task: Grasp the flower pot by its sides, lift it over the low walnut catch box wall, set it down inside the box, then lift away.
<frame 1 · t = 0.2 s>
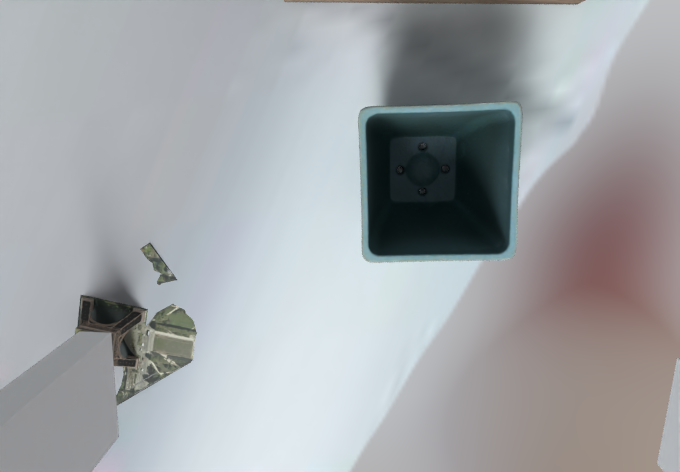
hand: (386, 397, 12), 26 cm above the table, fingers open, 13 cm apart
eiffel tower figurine: (116, 335, 42), on the table
flower pot: (420, 169, 37), on the table
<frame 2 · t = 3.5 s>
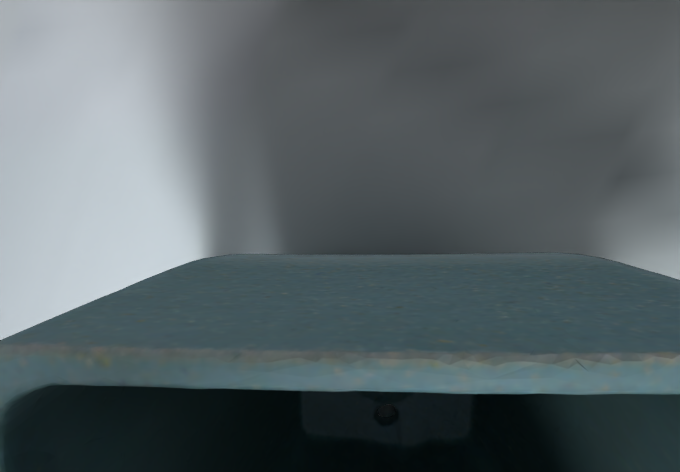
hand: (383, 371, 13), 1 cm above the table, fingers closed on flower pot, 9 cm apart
flower pot: (382, 352, 14), on the table, touching gripper
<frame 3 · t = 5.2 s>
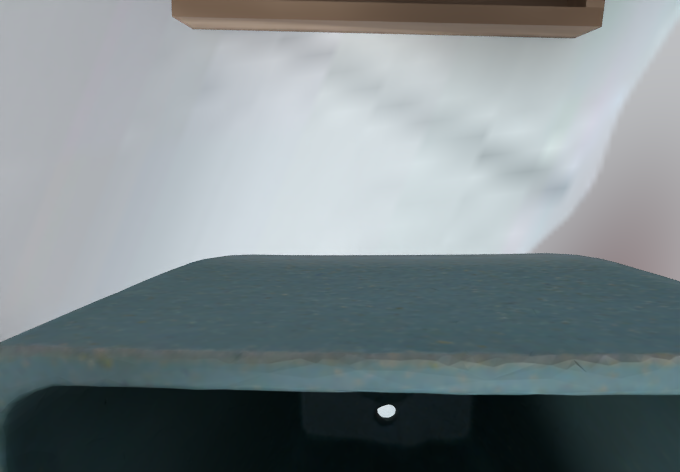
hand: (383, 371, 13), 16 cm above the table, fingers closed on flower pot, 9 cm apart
flower pot: (382, 353, 14), point 15 cm above the table, touching gripper
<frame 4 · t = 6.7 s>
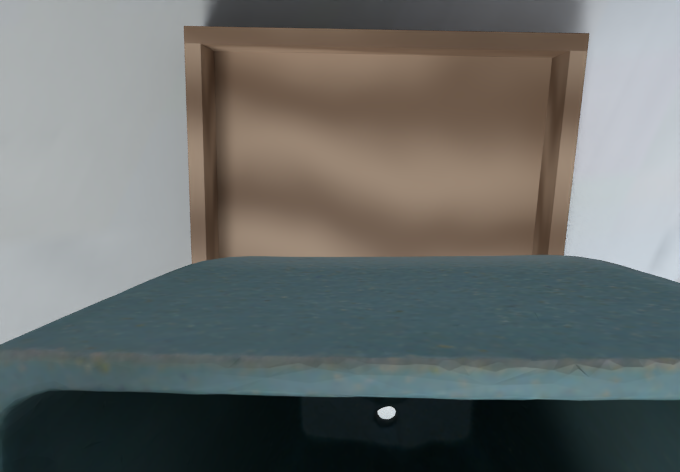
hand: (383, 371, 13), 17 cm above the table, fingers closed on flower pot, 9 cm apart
flower pot: (382, 354, 14), point 16 cm above the table, touching gripper
catch box: (374, 219, 29), on the table
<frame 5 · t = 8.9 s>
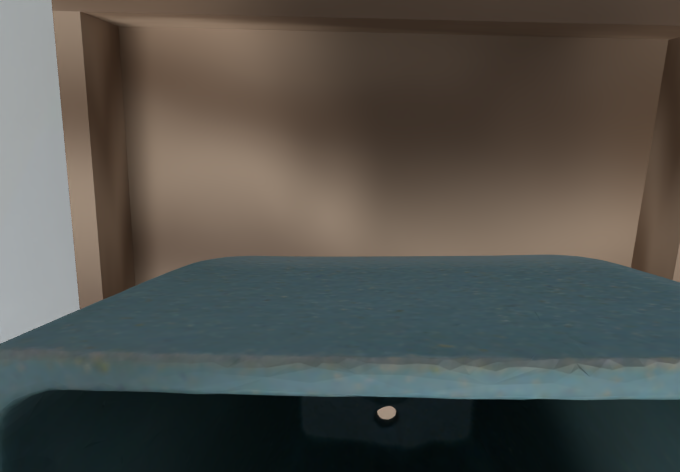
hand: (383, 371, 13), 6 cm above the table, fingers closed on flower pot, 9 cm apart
flower pot: (382, 354, 14), point 5 cm above the table, touching gripper
catch box: (375, 287, 19), on the table
when the fingers open (4 cm above the table, at t = 10.4 s): flower pot drops 2 cm, resting on catch box.
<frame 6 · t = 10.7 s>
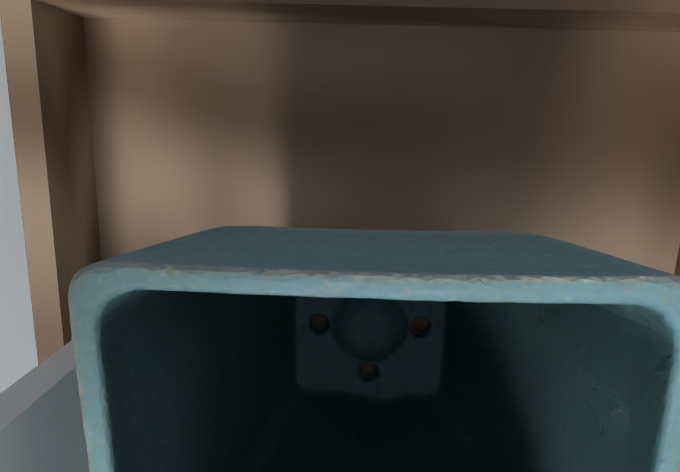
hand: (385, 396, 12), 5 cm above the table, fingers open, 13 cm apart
flower pot: (366, 319, 17), resting on catch box
catch box: (378, 315, 17), on the table
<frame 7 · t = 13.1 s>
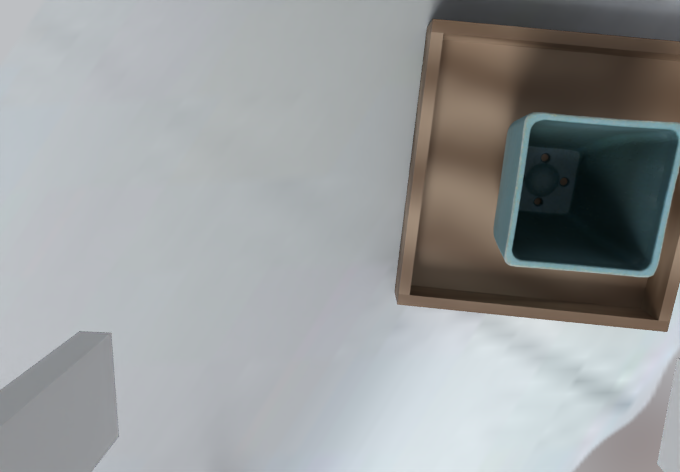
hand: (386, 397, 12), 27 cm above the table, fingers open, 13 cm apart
flower pot: (537, 179, 37), resting on catch box
catch box: (541, 179, 38), on the table
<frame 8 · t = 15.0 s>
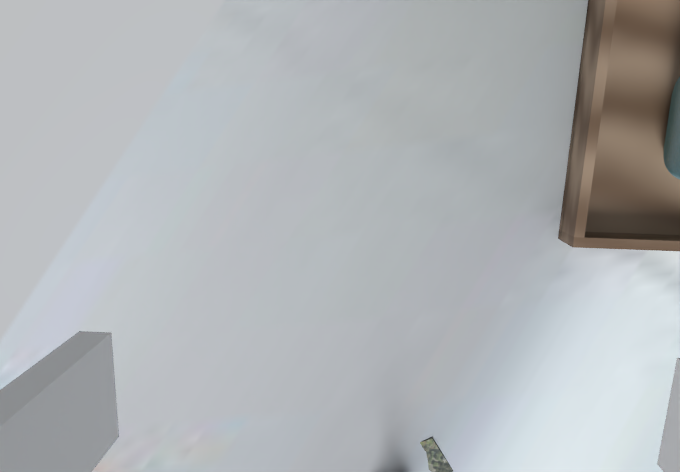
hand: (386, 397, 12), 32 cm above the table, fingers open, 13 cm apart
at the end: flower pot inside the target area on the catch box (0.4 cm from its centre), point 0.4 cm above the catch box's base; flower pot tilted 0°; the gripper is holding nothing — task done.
